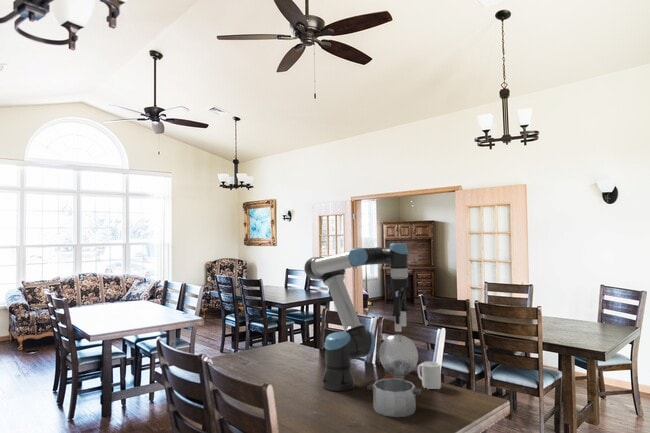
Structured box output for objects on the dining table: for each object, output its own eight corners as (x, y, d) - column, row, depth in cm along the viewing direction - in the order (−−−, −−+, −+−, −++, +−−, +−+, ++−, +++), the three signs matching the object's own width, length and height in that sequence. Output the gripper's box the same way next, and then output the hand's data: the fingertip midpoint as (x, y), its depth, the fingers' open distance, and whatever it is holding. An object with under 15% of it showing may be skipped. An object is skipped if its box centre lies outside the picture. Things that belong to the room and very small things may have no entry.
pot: (363, 412, 159) (362, 388, 160) (374, 397, 175) (374, 375, 175) (417, 420, 151) (417, 395, 152) (424, 403, 167) (423, 380, 168)
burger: (399, 381, 195) (399, 371, 195) (407, 388, 186) (407, 378, 186) (379, 383, 193) (379, 373, 193) (386, 390, 184) (386, 379, 184)
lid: (379, 333, 178) (380, 333, 180) (378, 375, 174) (379, 375, 176) (417, 336, 172) (418, 335, 174) (417, 379, 168) (418, 379, 170)
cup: (433, 391, 181) (432, 367, 182) (412, 384, 190) (411, 362, 191) (445, 387, 186) (444, 364, 186) (424, 380, 195) (423, 358, 196)
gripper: (402, 280, 169) (404, 334, 168) (412, 276, 191) (413, 324, 189) (385, 280, 172) (386, 333, 171) (396, 275, 194) (397, 323, 192)
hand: (400, 328), depth 180 cm, fingers open, 11 cm apart
